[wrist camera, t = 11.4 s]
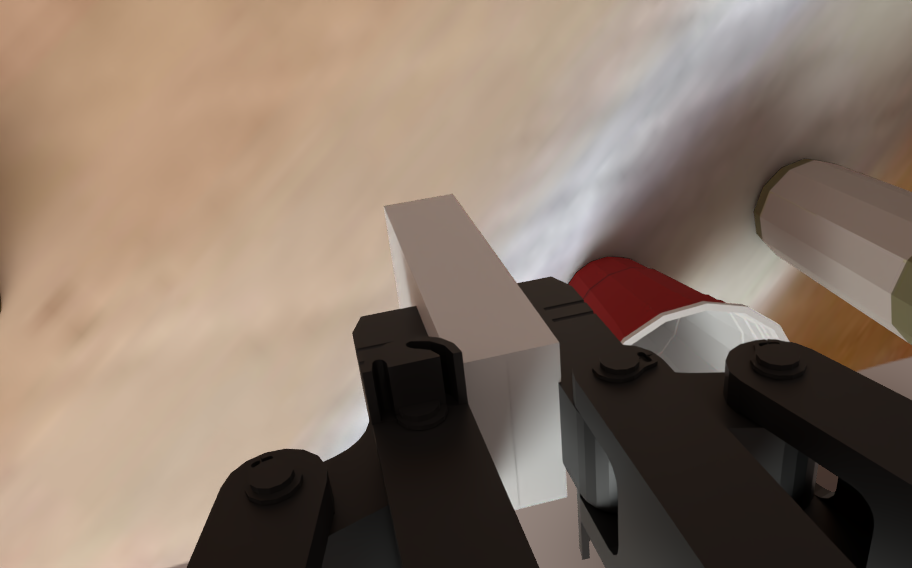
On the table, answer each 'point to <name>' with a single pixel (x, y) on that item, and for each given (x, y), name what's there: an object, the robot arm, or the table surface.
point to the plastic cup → (668, 315)
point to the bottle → (844, 236)
